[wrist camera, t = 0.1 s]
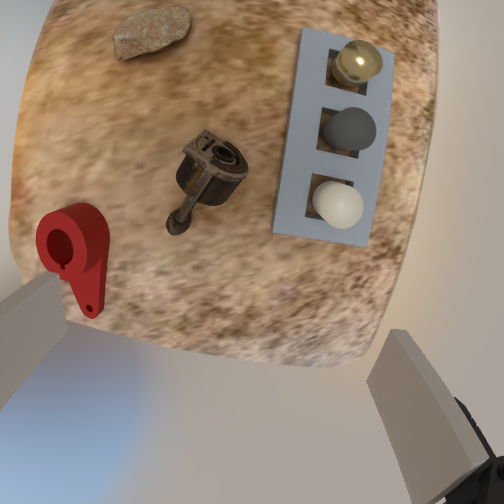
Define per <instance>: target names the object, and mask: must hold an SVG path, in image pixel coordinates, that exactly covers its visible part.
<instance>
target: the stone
mask: <svg viewBox="0 0 504 504" xmlns="http://www.w3.org/2000/svg"><path fill="white" fill-rule="evenodd" d="M188 12H189V11H188V9H187V8H185V7H181V6H169V7H165V8H160V9H152V10H148V11H143V12H140V13H138V14H135V15H133V16H130V17H129V18H127V19H126V20H124V21H123V22H122V23H121V24H120V25H119V26H118V28H117V29H116V30H115V33H114V35H113V41H114V56H115V59H116V60H118V61H120V60H126V59H131V58H133V57H137V56H140V55H143V54H147V53H154V52H156V51H158V50H160V49H162V48H163V47H165V46H167V45H169V44H171V43H172V42H175V41H177V40H180V39H182V38H183V37H185V36H186V35H187V32H188V30H189V28H190V25H191V15H190V14H189V13H188Z"/></svg>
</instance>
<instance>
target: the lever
mask: <svg viewBox="0 0 504 504" xmlns="http://www.w3.org/2000/svg"><path fill="white" fill-rule="evenodd" d="M109 242H110V234H109V228H108V225H107V222H106V220H105V218H104V217H103V215H102V214H101V213H100V211H99V210H98V209H97V208H95V207H94V206H92V205H90V204H87V203H77V204H74V205H71V206H68V207H65V208H62V209H59V210H56V211H53V212H51V213H48V214H47V215H45V216H44V217H43V218H42V219H41V221H40V223H39V225H38V227H37V231H36V246H37V251H38V254H39V257H40V259H41V261H42V263H43V265H44V266H45V268H46V269H47V270H48V271H49V272H53V273H57V274H59V276H60V279H61V280H67V281H69V283H70V285H71V288H72V290H73V293H74V295H75V297H76V300H77V302H78V304H79V306H80V309H81V311H82V312H83V314H84V315H85V316H87V317H88V318H91V319H94V318H96V317H97V316H98V315H99V314H100V313H101V312H102V310H103V309H104V298H105V282H106V270H107V260H108V251H109Z"/></svg>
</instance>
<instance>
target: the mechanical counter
mask: <svg viewBox="0 0 504 504" xmlns="http://www.w3.org/2000/svg"><path fill="white" fill-rule="evenodd" d="M183 153H185V154H187V155H186V156H185V158H184V160H183V161H182V163H181V165H180V167H179V168H178V170H177V173H176V180H177V183H178V184H179V186H180V188H181V189H182V190H183V191H184V192H185V194H187V195H188V196H187V198H186V199H185V201H184V202H183V204H182V206H181V207H180V208H179V209H177V210H175V211H174V212H172V213H171V214H170V216H169V217H168V219H167V221H166V228H167V230H168V232H169V233H170V234H171V235H173V236H175V235H180V234H182V233H183V232H185V231H186V230H187V229H188V228H189V226H190V223H191V218H192V217H191V210H192V208H193V207H194V205H195V204H196V202H199V203H202V204H205V205H209V206H217V205H221V204H223V203H224V202H225V201H226V200H227V199H228V198H229V196H230V195H231V194H232V193H233V191H234V190H235V189H236V187H237V186H238V185H239V184H240V182H241V181H242V179H244V178H245V177H246V175H247V174H248V164H247V162H246V160H245V159H244V157H243V156H242V154H241V153H240V151H239V150H238V149H237V148H236V147H234V146H233V145H232V144H231V143H229V142H227V141H226V142H224V141H223V140H221V139H220V138H218V137H217V136H215V135H213V134H212V133H210V132H209V131H207V130H204V131H203V132H202V133H201V134H200V135H198V136H197V137H196V138H195V139H193V140H192V141H191V142H190V143H189V144H187V145H186V146H185V148H184V149H183Z"/></svg>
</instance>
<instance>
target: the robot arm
mask: <svg viewBox="0 0 504 504" xmlns="http://www.w3.org/2000/svg"><path fill="white" fill-rule="evenodd" d="M67 332H68V329H67V323H66V318H65V312H64V306H63V299H62V292H61V285H60V276H59V274H57V273H53V272H49V271H45V272H43V273H42V274H40V275H39V276H37V277H36V278H34V279H33V280H31V281H30V282H28V283H27V284H25V285H24V286H23V287H21V288H20V289H18V290H17V291H16V292H14V293H13V294H11V295H10V296H9V297H7V298H6V299H4V300H3V301H2V302H0V411H1V410H2V408H3V407H4V406H5V404H6V403H7V402H8V400H9V399H10V398H11V397H12V395H13V394H14V393H15V392H16V390H17V389H18V388H19V386H20V385H21V384H22V383H23V382H24V381H25V379H26V378H27V377H28V376H29V375H30V373H31V372H32V371H33V370H34V368H35V367H36V366H37V365H38V364H39V363H40V362H41V360H42V359H43V358H44V357H45V356H46V355H47V354H48V352H49V351H50V350H51V349H52V348H53V347H54V346H55V345H56V344H57V342H58V341H59V340H60V339H61V338H62V337H63V336H64V335H65V334H66V333H67ZM366 382H367V384H368V387H369V389H370V391H371V394H372V396H373V399H374V401H375V404H376V406H377V409H378V411H379V414H380V416H381V419H382V421H383V424H384V426H385V429H386V431H387V434H388V436H389V439H390V442H391V445H392V447H393V450H394V453H395V455H396V458H397V461H398V464H399V467H400V469H401V472H402V475H403V478H404V481H405V483H406V487H407V490H408V493H409V495H410V498H411V501H412V504H435V503H436V502H438V501H439V500H441V499H442V498H443V497H445V498H446V502H445V503H443V504H504V456H500V457H496V456H495V454H494V453H493V451H492V449H491V447H490V446H489V444H488V443H487V440H486V439H485V437H484V436H483V434H482V432H481V430H480V429H479V427H478V426H476V422H475V421H474V419H473V418H471V414H470V413H469V412H468V410H467V408H466V407H465V405H463V404H462V403H461V402H460V401H459V400H458V399H457V398H456V397H453V396H452V394H451V393H450V391H449V390H448V389H447V387H446V385H445V384H444V382H443V381H442V380H441V378H440V377H439V375H438V374H437V372H436V371H435V369H434V368H433V367H432V365H431V364H430V362H429V361H428V359H427V358H426V356H425V355H424V354H423V353H422V351H421V350H420V348H419V347H418V345H417V344H416V343H415V341H414V340H413V339H412V337H411V336H410V335H409V333H408V332H407V331H406V330H399V329H391V330H390V332H389V334H388V337H387V339H386V341H385V343H384V346H383V348H382V350H381V352H380V354H379V356H378V358H377V360H376V363H375V365H374V367H373V369H372V371H371V373H370V375H369V377H368V378H367V380H366Z"/></svg>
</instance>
